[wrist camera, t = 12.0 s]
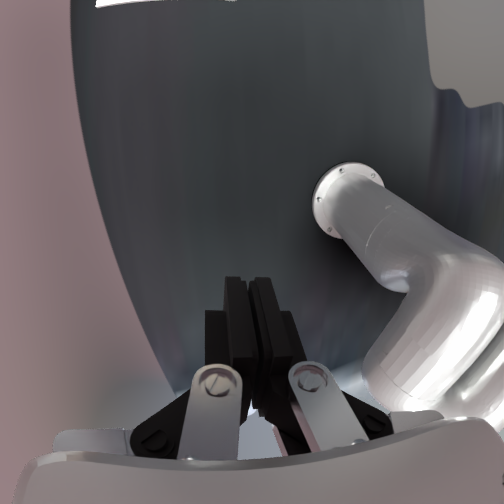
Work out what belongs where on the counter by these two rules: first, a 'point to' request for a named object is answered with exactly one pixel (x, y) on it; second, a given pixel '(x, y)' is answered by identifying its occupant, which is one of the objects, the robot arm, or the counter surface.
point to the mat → (120, 2)
